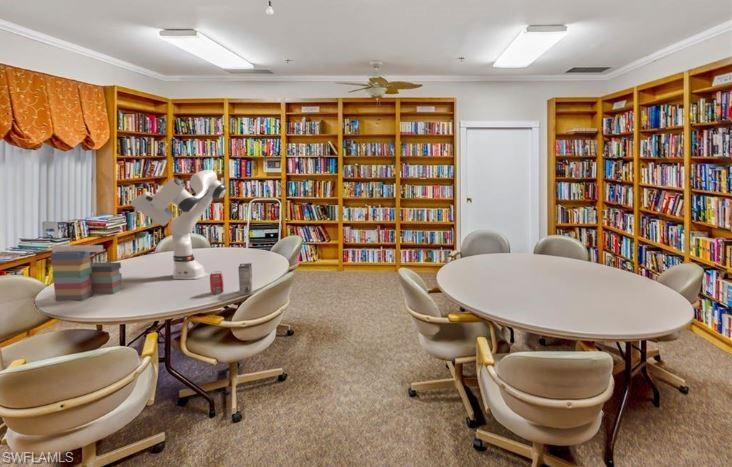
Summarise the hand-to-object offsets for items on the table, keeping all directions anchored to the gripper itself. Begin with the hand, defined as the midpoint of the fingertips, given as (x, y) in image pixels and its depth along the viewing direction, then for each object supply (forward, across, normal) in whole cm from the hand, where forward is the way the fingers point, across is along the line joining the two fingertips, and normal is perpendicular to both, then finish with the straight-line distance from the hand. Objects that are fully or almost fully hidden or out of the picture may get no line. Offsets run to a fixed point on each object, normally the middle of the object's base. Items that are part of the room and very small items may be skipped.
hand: (141, 221), depth 218 cm
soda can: (+4, -52, +20) cm, 56 cm away
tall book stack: (+56, -4, -3) cm, 57 cm away
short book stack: (+50, -15, -10) cm, 53 cm away
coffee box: (-7, -62, +26) cm, 68 cm away
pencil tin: (+35, +10, -9) cm, 38 cm away
